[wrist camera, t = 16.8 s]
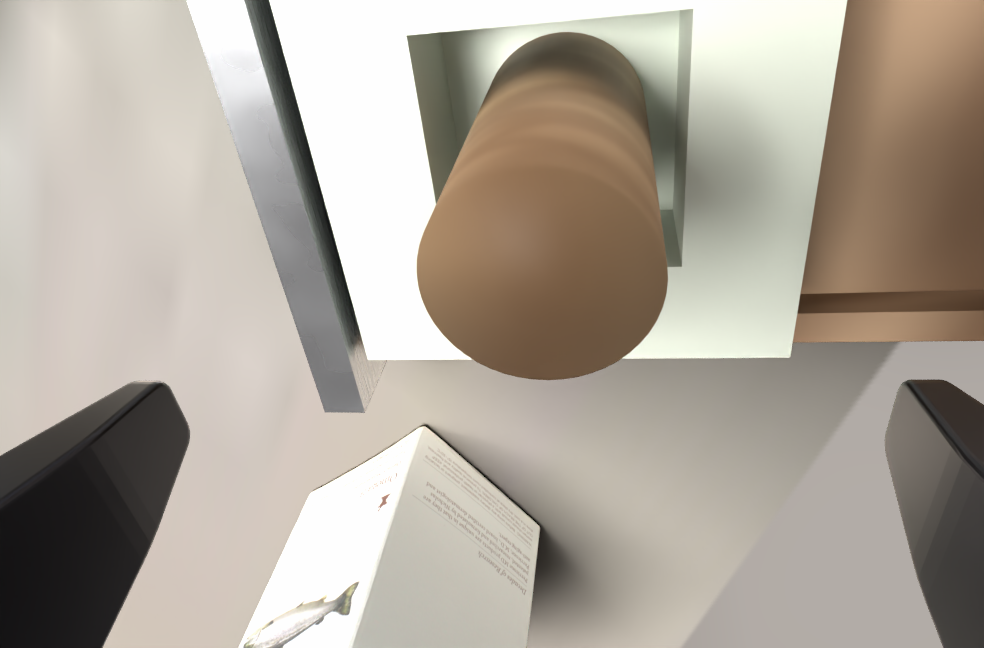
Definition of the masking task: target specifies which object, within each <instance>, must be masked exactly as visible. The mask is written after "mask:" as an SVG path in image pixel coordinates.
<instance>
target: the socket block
mask: <svg viewBox="0 0 984 648" xmlns="http://www.w3.org/2000/svg"><path fill="white" fill-rule="evenodd" d="M269 1H270V5H271V8H272V12H273V16H274V19H275V23H276V26H277V30H278V34H279V37H280V41H281V45H282V48H283V52H284V56H285V59H286V63H287V67H288V70H289V74H290V77H291V81H292V85H293V88H294V92H295V96H296V99H297V103H298V107H299V110H300V114H301V118H302V121H303V125H304V128H305V132H306V136H307V139H308V143H309V147H310V150H311V154H312V158H313V161H314V165H315V169H316V172H317V176H318V180H319V183H320V187H321V190H322V194H323V198H324V201H325V205H326V209H327V212H328V216H329V220H330V223H331V227H332V231H333V234H334V238H335V241H336V245H337V249H338V252H339V256H340V260H341V263H342V267H343V271H344V274H345V278H346V282H347V285H348V289H349V292H350V296H351V300H352V303H353V307H354V311H355V314H356V318H357V322H358V325H359V329H360V333H361V336H362V340H363V344H364V347H365V351H366V354H367V358H368V360H449V359H471V358H470V357H468V356H467V355H465V354H464V353H463V352H461V351H460V350H459V349H457V348H456V347H455V346H454V345H453V344H452V343H451V342H450V341H449V340H448V339H447V338H446V337H445V336H444V335H443V334H442V333H441V332H440V330H439V329H438V328H437V327H436V325H435V324H434V322H433V321H432V319H431V317H430V316H429V314H428V312H427V310H426V308H425V306H424V303H423V301H422V298H421V294H420V291H419V287H418V280H417V255H418V249H419V244H420V241H421V238H422V235H423V232H424V230H425V228H426V226H427V223H428V221H429V219H430V217H431V215H432V213H433V210H434V208H435V206H436V204H437V202H438V199H439V197H440V195H441V193H442V191H443V188H444V186H445V184H446V182H447V180H448V177H449V175H450V173H451V171H452V169H453V166H454V164H455V162H456V160H457V158H458V155H459V153H460V151H461V149H462V147H463V145H464V142H465V140H466V138H467V136H468V134H469V131H470V129H471V127H472V125H473V123H474V120H475V118H476V116H477V114H478V112H479V109H480V107H481V105H482V103H483V101H484V98H485V96H486V94H487V92H488V90H489V87H490V85H491V83H492V81H493V79H494V77H495V75H496V73H497V71H498V70H499V68H500V67H501V65H502V64H503V63H504V61H505V60H506V59H507V58H508V57H509V56H510V55H511V54H512V53H513V52H514V51H516V50H517V49H518V48H519V47H521V46H522V45H524V44H526V43H527V42H529V41H531V40H533V39H535V38H538V37H540V36H544V35H547V34H552V33H558V32H576V33H583V34H587V35H591V36H594V37H596V38H599V39H601V40H603V41H605V42H607V43H608V44H610V45H612V46H613V47H614V48H616V49H617V50H618V51H619V52H621V53H622V54H623V56H624V57H625V58H626V59H627V60H628V61H629V62H630V64H631V65H632V67H633V68H634V69H635V71H636V73H637V75H638V77H639V79H640V82H641V85H642V88H643V92H644V97H645V103H646V111H647V118H648V125H649V133H650V140H651V148H652V155H653V163H654V170H655V177H656V185H657V192H658V200H659V207H660V215H661V222H662V229H663V237H664V244H665V252H666V259H667V269H668V285H667V294H666V298H665V301H664V305H663V308H662V310H661V313H660V315H659V317H658V319H657V321H656V323H655V325H654V326H653V328H652V329H651V331H650V332H649V334H648V335H647V336H646V337H645V338H644V340H643V341H642V342H641V343H640V344H639V345H638V346H637V347H636V348H635V349H633V350H632V351H631V352H630V353H629V354H627V355H626V356H624V357H623V358H622V359H636V358H790V355H791V349H792V343H793V337H794V330H795V324H796V318H797V312H798V305H799V299H800V293H801V287H802V280H803V274H804V268H805V262H806V255H807V249H808V243H809V237H810V230H811V224H812V218H813V212H814V205H815V199H816V193H817V187H818V181H819V174H820V168H821V162H822V156H823V149H824V143H825V137H826V131H827V124H828V118H829V112H830V106H831V99H832V93H833V87H834V81H835V74H836V68H837V62H838V56H839V49H840V43H841V37H842V31H843V24H844V18H845V12H846V6H847V0H269Z"/></svg>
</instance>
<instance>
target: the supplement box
mask: <svg viewBox="0 0 984 648" xmlns="http://www.w3.org/2000/svg"><path fill="white" fill-rule="evenodd" d="M539 533H540V527H539V525H538V524H536V523H535V522H534V521H533V520H532V519H531V518H530V517H529V516H528V515H527V514H525V513H524V512H523V511H522V510H521V509H520V508H519V507H518V506H517V505H515V504H514V503H513V502H512V501H511V500H510V499H509V498H507V497H506V496H505V495H504V494H503V493H502V492H501V491H500V490H499V489H497V488H496V487H495V486H494V485H493V484H492V483H490V482H489V481H488V480H487V479H486V478H485V477H484V476H483V475H482V474H481V473H479V472H478V471H477V470H476V469H475V468H474V467H472V466H471V465H470V464H469V463H468V462H466V461H465V460H464V459H463V458H462V457H461V456H460V455H459V454H458V453H456V452H455V451H454V450H453V449H452V448H451V447H449V446H448V445H447V444H446V443H445V442H444V441H443V440H442V439H440V438H439V437H438V436H437V435H436V434H434V433H433V432H432V431H430V430H429V429H428V428H426V427H425V426H424V427H420V428H418V429H416V430H415V431H414V432H412V433H411V434H409V435H408V436H406V437H405V438H403V439H402V440H400V441H399V442H397V443H396V444H394V445H393V446H391V447H390V448H388V449H387V450H385V451H383V452H382V453H380V454H379V455H377V456H375V457H374V458H372V459H370V460H369V461H367V462H365V463H364V464H362V465H360V466H358V467H356V468H355V469H353V470H351V471H350V472H348V473H346V474H344V475H343V476H341V477H339V478H337V479H336V480H334V481H332V482H330V483H328V484H326V485H324V486H323V487H321V488H319V489H317V490H315V491H313V492H311V493H310V495H309V497H308V499H307V501H306V503H305V505H304V507H303V509H302V512H301V514H300V516H299V518H298V521H297V523H296V525H295V527H294V529H293V531H292V533H291V535H290V537H289V539H288V542H287V544H286V546H285V548H284V550H283V552H282V554H281V557H280V559H279V561H278V563H277V565H276V568H275V570H274V572H273V574H272V576H271V578H270V581H269V583H268V585H267V587H266V589H265V591H264V593H263V596H262V598H261V600H260V602H259V604H258V606H257V609H256V611H255V613H254V615H253V617H252V619H251V622H250V624H249V626H248V628H247V630H246V633H245V635H244V637H243V639H242V641H241V643H240V645H239V648H527V641H528V631H529V622H530V614H531V605H532V596H533V587H534V578H535V569H536V560H537V551H538V542H539Z"/></svg>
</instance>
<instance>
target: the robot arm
mask: <svg viewBox="0 0 984 648" xmlns="http://www.w3.org/2000/svg"><path fill="white" fill-rule="evenodd" d="M189 439H190V429H189V425H188V423H187V421H186V419H185V417H184V415H183V413H182V411H181V409H180V406H179V404H178V402H177V400H176V398H175V396H174V394H173V392H172V390H171V389H170V387H169V386H168V385H167V384H165V383H164V382H161V381H134V382H131V383H129V384H127V385H125V386H123V387H122V388H120V389H118V390H116V391H114V392H113V393H111V394H109V395H107V396H106V397H104V398H102V399H100V400H98V401H97V402H95V403H93V404H91V405H90V406H88V407H86V408H84V409H82V410H81V411H79V412H77V413H75V414H74V415H72V416H70V417H68V418H66V419H65V420H63V421H61V422H59V423H58V424H56V425H54V426H52V427H50V428H49V429H47V430H45V431H43V432H42V433H40V434H38V435H36V436H35V437H33V438H31V439H29V440H27V441H26V442H24V443H22V444H20V445H19V446H17V447H15V448H13V449H11V450H10V451H8V452H6V453H4V454H3V455H1V456H0V648H103V646H104V644H105V642H106V639H107V637H108V635H109V633H110V631H111V629H112V627H113V625H114V623H115V621H116V619H117V617H118V615H119V612H120V610H121V608H122V606H123V604H124V602H125V600H126V598H127V596H128V594H129V592H130V590H131V588H132V585H133V583H134V581H135V579H136V577H137V575H138V573H139V571H140V569H141V567H142V565H143V563H144V560H145V558H146V556H147V554H148V552H149V549H150V547H151V545H152V542H153V540H154V537H155V535H156V532H157V530H158V527H159V524H160V522H161V519H162V516H163V513H164V511H165V508H166V505H167V502H168V500H169V497H170V494H171V491H172V489H173V486H174V483H175V480H176V478H177V475H178V472H179V469H180V467H181V464H182V461H183V458H184V456H185V453H186V450H187V447H188V444H189ZM885 451H886V457H887V461H888V464H889V469H890V472H891V477H892V481H893V484H894V489H895V493H896V497H897V501H898V505H899V509H900V513H901V517H902V521H903V525H904V529H905V533H906V536H907V540H908V545H909V549H910V553H911V556H912V560H913V564H914V568H915V571H916V575H917V578H918V581H919V584H920V587H921V589H922V593H923V596H924V598H925V601H926V604H927V606H928V609H929V612H930V614H931V617H932V619H933V622H934V625H935V627H936V630H937V632H938V635H939V638H940V640H941V643H942V645H943V648H984V405H983V404H982V403H980V402H979V401H977V400H976V399H974V398H972V397H971V396H969V395H968V394H966V393H965V392H963V391H962V390H960V389H959V388H957V387H956V386H954V385H953V384H951V383H949V382H947V381H944V380H907V381H906V382H903V383H902V384H901V386H900V387H899V389H898V392H897V395H896V399H895V402H894V406H893V410H892V413H891V416H890V420H889V424H888V427H887V431H886V435H885Z"/></svg>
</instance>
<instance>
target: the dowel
mask: <svg viewBox="0 0 984 648" xmlns="http://www.w3.org/2000/svg"><path fill="white" fill-rule="evenodd" d="M417 280H418V287H419V291H420V294H421V298H422V301H423V303H424V306H425V308H426V310H427V312H428V314H429V316H430V317H431V319H432V321H433V322H434V324H435V325H436V327H437V328H438V329H439V330H440V332H441V333H442V334H443V335H444V336H445V337H446V338H447V339H448V340H449V341H450V342H451V343H452V344H453V345H454V346H455V347H456V348H457V349H459V350H460V351H461V352H463V353H464V354H465V355H467V356H468V357H470V358H471V359H473V360H475V361H476V362H478V363H480V364H482V365H484V366H486V367H488V368H491V369H493V370H496V371H499V372H501V373H504V374H508V375H512V376H516V377H521V378H528V379H538V380H557V379H567V378H574V377H579V376H583V375H586V374H590V373H593V372H596V371H598V370H601V369H603V368H606V367H608V366H609V365H611V364H613V363H615V362H617V361H619V360H620V359H622V358H623V357H624V356H626V355H627V354H629V353H630V352H631V351H632V350H633V349H635V348H636V347H637V346H638V345H639V344H640V343H641V342H642V341H643V340H644V338H645V337H646V336H647V335H648V334H649V332H650V331H651V329H652V328H653V326H654V325H655V323H656V321H657V319H658V317H659V315H660V313H661V310H662V308H663V305H664V301H665V298H666V294H667V285H668V269H667V259H666V252H665V244H664V237H663V229H662V222H661V215H660V207H659V200H658V192H657V185H656V177H655V170H654V163H653V155H652V148H651V140H650V133H649V125H648V118H647V111H646V103H645V97H644V92H643V88H642V85H641V82H640V79H639V77H638V75H637V73H636V71H635V69H634V68H633V67H632V65H631V64H630V62H629V61H628V60H627V59H626V58H625V57H624V56H623V54H622V53H621V52H619V51H618V50H617V49H616V48H614V47H613V46H612V45H610V44H608V43H607V42H605V41H603V40H601V39H599V38H596V37H594V36H591V35H587V34H583V33H576V32H558V33H552V34H547V35H544V36H540V37H538V38H535V39H533V40H531V41H529V42H527V43H526V44H524V45H522V46H521V47H519V48H518V49H517V50H516V51H514V52H513V53H512V54H511V55H510V56H509V57H508V58H507V59H506V60H505V61H504V63H503V64H502V65H501V67H500V68H499V70H498V71H497V73H496V75H495V77H494V79H493V81H492V83H491V85H490V87H489V90H488V92H487V94H486V96H485V98H484V101H483V103H482V105H481V107H480V109H479V112H478V114H477V116H476V118H475V120H474V123H473V125H472V127H471V129H470V131H469V134H468V136H467V138H466V140H465V142H464V145H463V147H462V149H461V151H460V153H459V155H458V158H457V160H456V162H455V164H454V166H453V169H452V171H451V173H450V175H449V177H448V180H447V182H446V184H445V186H444V188H443V191H442V193H441V195H440V197H439V199H438V202H437V204H436V206H435V208H434V210H433V213H432V215H431V217H430V219H429V221H428V223H427V226H426V228H425V230H424V232H423V235H422V238H421V241H420V244H419V249H418V255H417Z"/></svg>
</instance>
